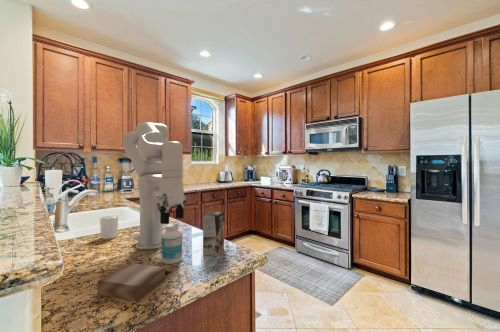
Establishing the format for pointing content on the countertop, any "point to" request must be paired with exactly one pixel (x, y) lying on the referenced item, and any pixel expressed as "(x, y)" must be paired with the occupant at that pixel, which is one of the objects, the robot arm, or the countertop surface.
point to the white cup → (109, 226)
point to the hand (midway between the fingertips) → (172, 220)
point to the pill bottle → (171, 244)
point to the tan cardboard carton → (132, 281)
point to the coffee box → (213, 233)
